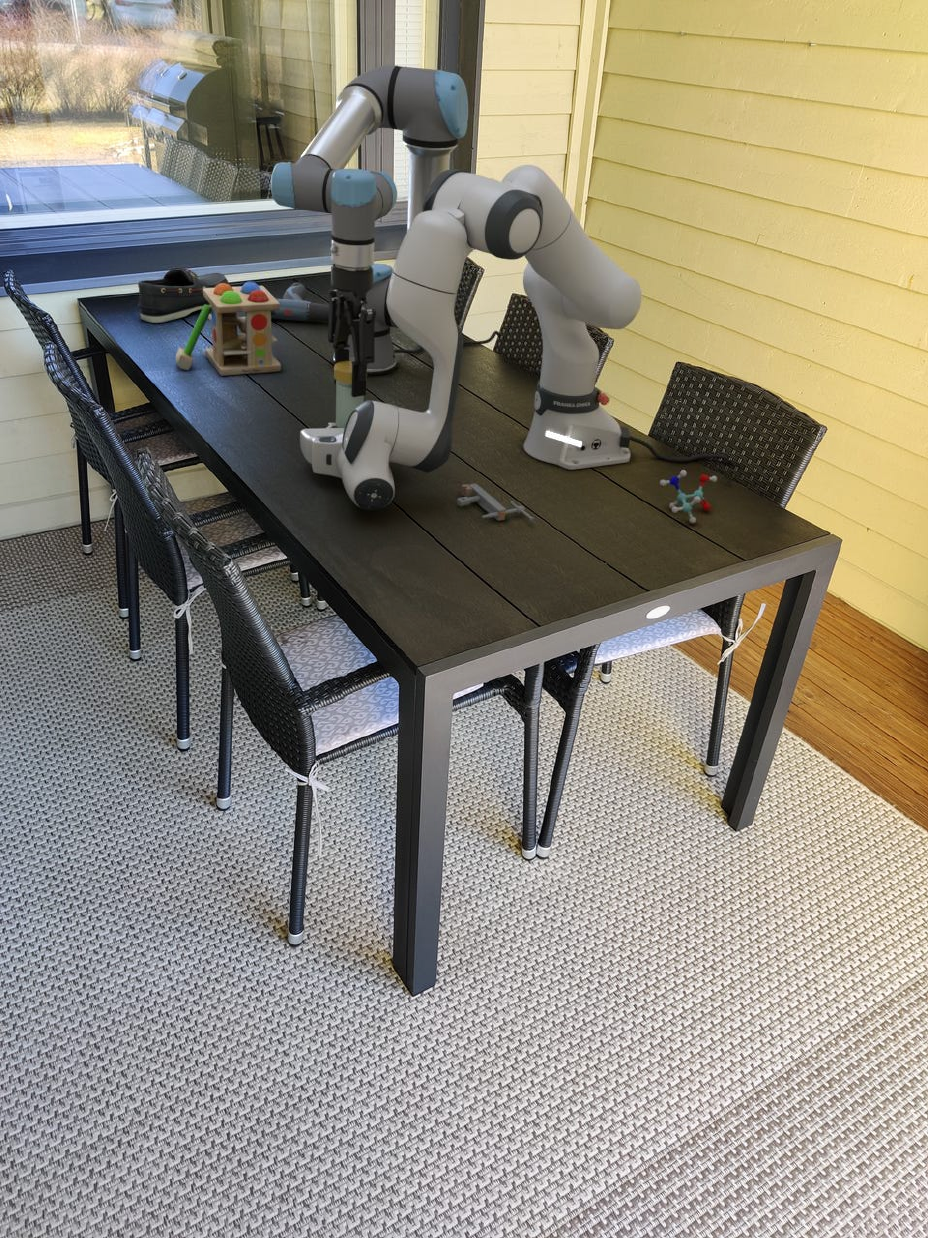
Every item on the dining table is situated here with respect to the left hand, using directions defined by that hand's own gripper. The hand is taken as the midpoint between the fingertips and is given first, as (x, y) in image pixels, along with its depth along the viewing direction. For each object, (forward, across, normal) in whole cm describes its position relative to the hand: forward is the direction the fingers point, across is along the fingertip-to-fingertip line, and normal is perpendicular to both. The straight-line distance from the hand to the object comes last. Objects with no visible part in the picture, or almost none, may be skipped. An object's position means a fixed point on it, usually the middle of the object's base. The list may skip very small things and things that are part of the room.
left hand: (350, 388), depth 187 cm
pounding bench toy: (+14, -55, -2) cm, 57 cm away
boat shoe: (+14, -99, +5) cm, 100 cm away
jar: (+14, 0, 0) cm, 14 cm away
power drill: (+14, -84, +33) cm, 91 cm away
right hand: (+8, -1, 0) cm, 8 cm away
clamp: (+14, +31, +12) cm, 37 cm away
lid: (-4, 0, 0) cm, 4 cm away
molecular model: (+14, +48, +46) cm, 68 cm away
